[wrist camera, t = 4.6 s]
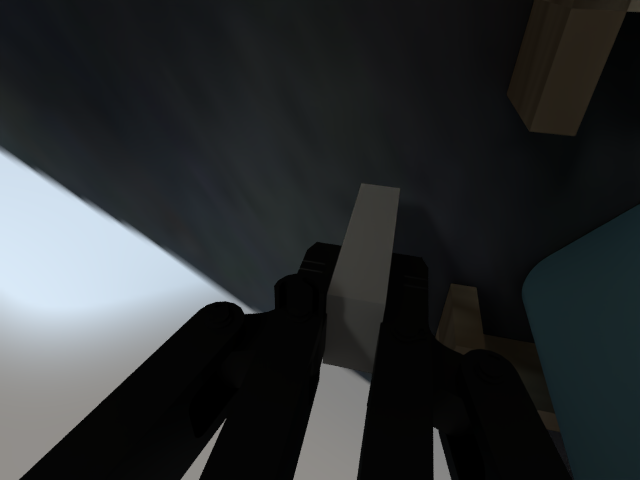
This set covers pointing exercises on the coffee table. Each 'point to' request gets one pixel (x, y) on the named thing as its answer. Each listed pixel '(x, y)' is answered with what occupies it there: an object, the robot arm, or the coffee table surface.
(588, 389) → the data package
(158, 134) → the coffee table surface
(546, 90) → the shelf bay
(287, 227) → the coffee table surface
